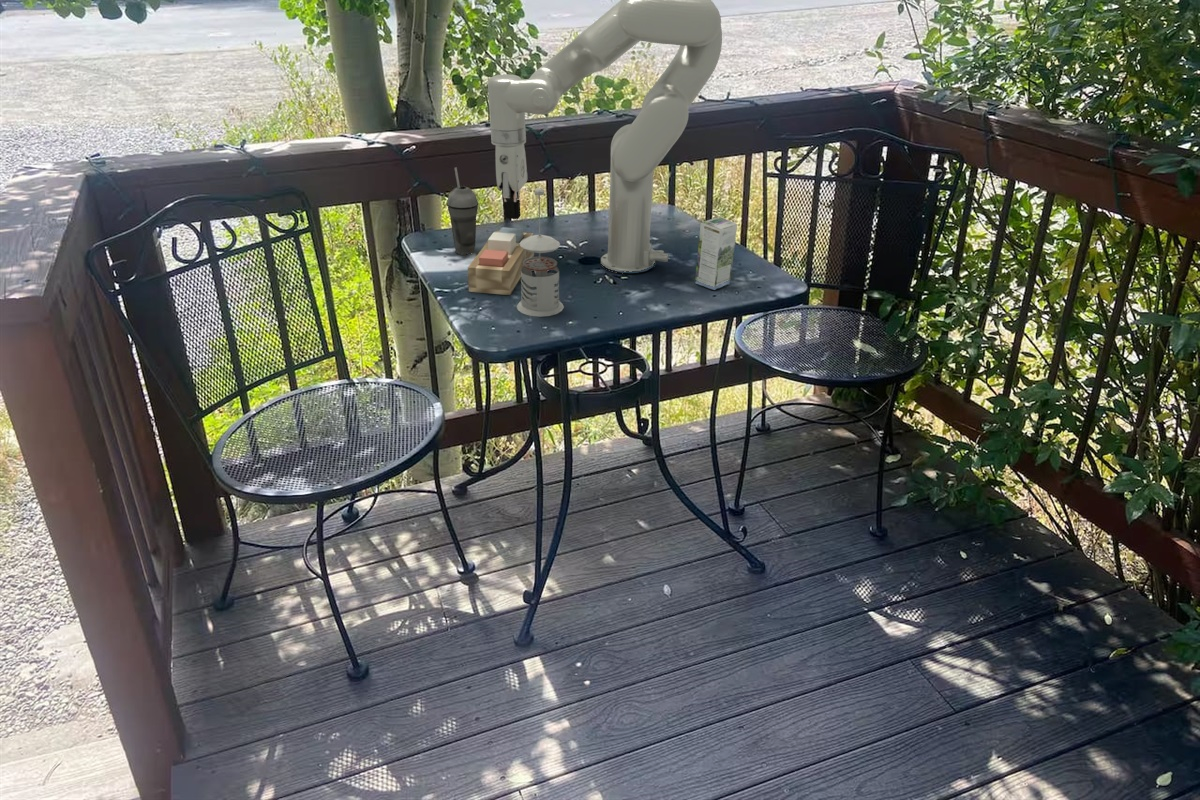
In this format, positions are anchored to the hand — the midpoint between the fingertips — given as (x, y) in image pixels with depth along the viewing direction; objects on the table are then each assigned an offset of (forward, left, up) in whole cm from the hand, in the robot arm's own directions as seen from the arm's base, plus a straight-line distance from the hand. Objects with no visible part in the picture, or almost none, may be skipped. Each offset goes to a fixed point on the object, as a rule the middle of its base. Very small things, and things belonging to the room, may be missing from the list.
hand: (513, 217), depth 201 cm
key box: (+1, +8, -10) cm, 13 cm away
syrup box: (-46, +5, -11) cm, 48 cm away
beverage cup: (+13, -3, -11) cm, 17 cm away
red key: (+1, +15, -7) cm, 17 cm away
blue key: (+1, 0, -7) cm, 7 cm away
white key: (+1, +8, -6) cm, 10 cm away
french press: (-11, +23, -11) cm, 28 cm away
